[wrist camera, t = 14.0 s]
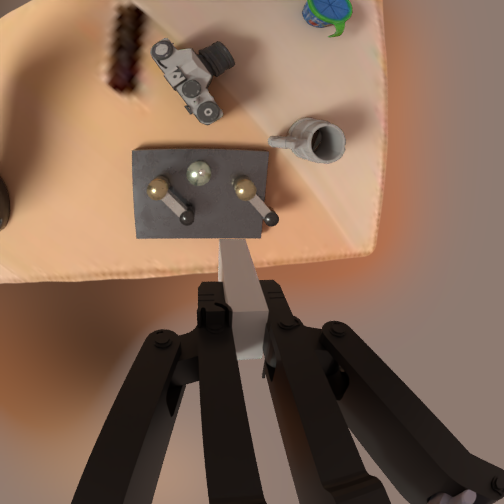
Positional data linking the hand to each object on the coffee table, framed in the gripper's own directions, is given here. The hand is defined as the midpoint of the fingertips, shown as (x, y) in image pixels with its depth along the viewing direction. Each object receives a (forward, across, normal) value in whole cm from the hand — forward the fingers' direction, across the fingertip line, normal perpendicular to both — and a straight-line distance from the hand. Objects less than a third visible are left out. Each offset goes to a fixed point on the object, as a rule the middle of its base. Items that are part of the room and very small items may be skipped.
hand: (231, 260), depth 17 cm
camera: (+35, -3, +16) cm, 38 cm away
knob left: (+32, -9, -3) cm, 34 cm away
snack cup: (+35, +16, +31) cm, 49 cm away
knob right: (+32, +5, -3) cm, 33 cm away
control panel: (+34, -2, -5) cm, 35 cm away
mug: (+35, +14, +6) cm, 38 cm away
